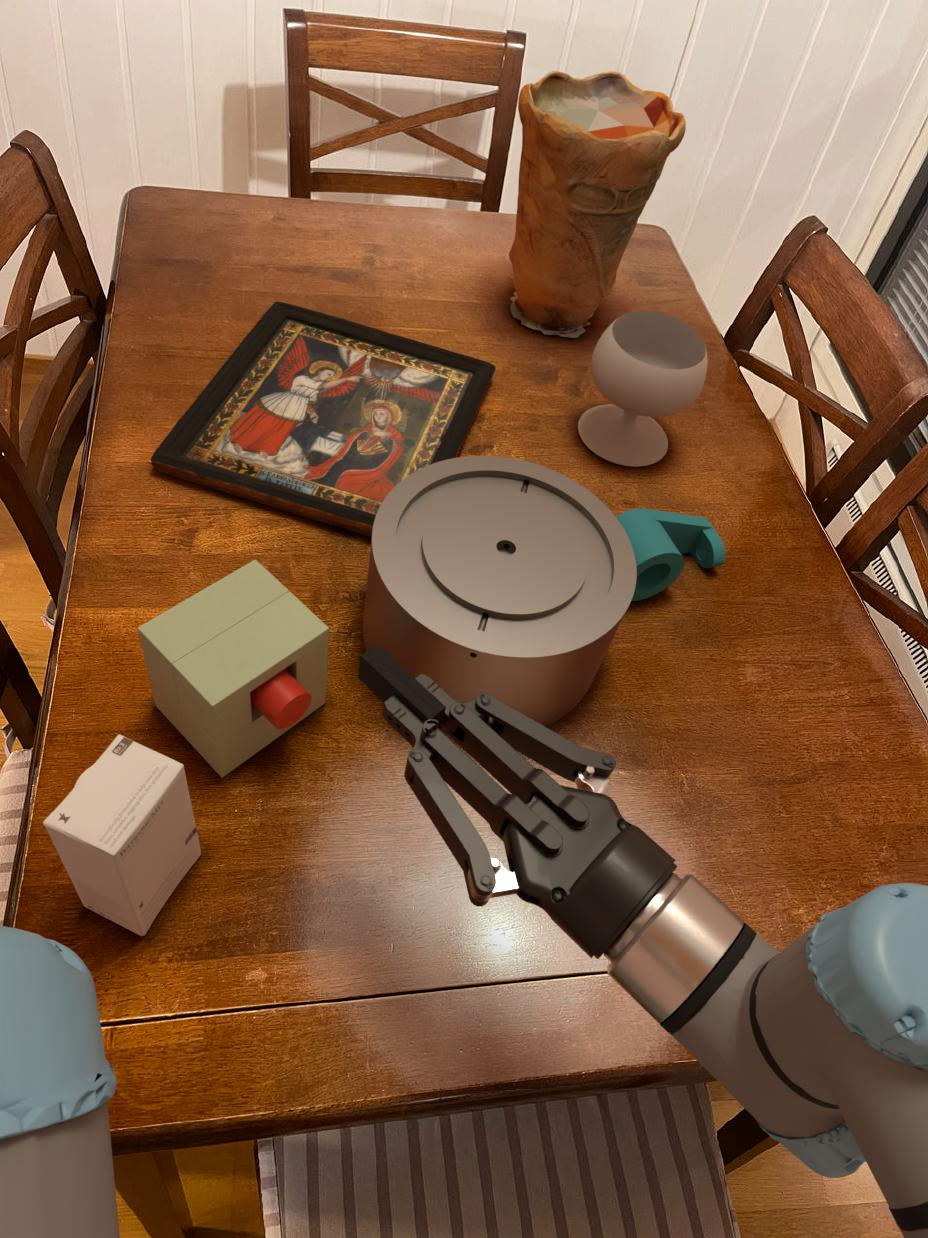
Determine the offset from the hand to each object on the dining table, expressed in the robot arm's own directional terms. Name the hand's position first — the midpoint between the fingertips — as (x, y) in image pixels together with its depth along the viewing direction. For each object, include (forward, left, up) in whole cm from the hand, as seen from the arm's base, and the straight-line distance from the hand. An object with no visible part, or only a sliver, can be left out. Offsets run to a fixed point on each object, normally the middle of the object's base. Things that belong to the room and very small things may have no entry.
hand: (367, 661), depth 59 cm
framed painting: (+34, +40, -24) cm, 58 cm away
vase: (+77, +41, -24) cm, 91 cm away
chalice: (+62, +16, -24) cm, 68 cm away
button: (0, +10, -18) cm, 21 cm away
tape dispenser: (+46, -1, -24) cm, 52 cm away
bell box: (0, +15, -24) cm, 28 cm away
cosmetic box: (-16, +7, -24) cm, 30 cm away
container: (+24, +6, -24) cm, 35 cm away
